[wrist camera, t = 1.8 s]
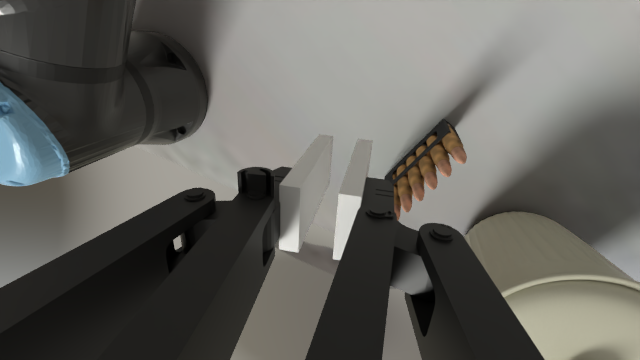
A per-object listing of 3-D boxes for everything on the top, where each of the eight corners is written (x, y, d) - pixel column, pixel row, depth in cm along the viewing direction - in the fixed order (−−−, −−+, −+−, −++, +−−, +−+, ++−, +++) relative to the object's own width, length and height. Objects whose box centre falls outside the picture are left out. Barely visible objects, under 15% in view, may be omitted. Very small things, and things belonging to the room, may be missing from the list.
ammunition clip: (394, 185, 43) (395, 233, 32) (384, 177, 43) (381, 222, 32) (454, 128, 38) (479, 161, 27) (443, 118, 38) (464, 148, 27)
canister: (532, 314, 46) (629, 500, 27) (417, 270, 47) (435, 419, 29) (618, 219, 38) (839, 389, 19) (478, 168, 39) (558, 283, 21)
